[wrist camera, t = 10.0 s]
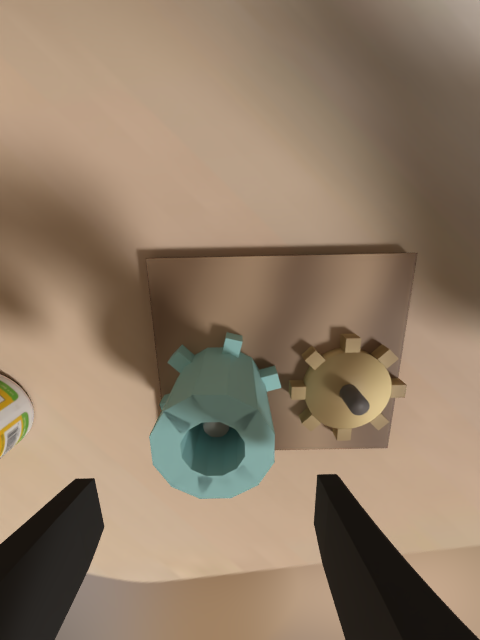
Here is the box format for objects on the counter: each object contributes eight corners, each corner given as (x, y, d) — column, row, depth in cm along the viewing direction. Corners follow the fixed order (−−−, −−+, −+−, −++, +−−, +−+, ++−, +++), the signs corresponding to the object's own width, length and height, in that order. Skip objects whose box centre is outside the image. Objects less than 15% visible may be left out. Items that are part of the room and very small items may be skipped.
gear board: (407, 252, 14) (477, 254, 10) (380, 439, 17) (425, 498, 13) (151, 258, 14) (114, 261, 10) (170, 443, 17) (149, 504, 13)
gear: (279, 331, 14) (300, 371, 10) (277, 434, 16) (293, 512, 11) (157, 333, 15) (117, 375, 10) (168, 436, 16) (139, 516, 11)
